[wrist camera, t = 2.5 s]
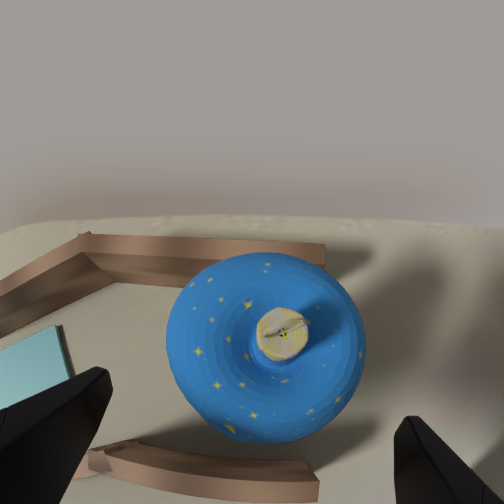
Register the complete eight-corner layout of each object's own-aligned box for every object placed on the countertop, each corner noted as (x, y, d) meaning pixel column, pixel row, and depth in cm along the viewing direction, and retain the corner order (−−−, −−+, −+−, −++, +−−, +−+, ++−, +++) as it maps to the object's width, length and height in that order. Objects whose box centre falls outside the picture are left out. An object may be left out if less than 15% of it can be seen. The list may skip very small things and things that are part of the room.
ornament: (209, 350, 19) (95, 234, 5) (286, 325, 20) (343, 159, 6) (235, 427, 17) (168, 518, 3) (315, 399, 17) (463, 398, 4)
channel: (396, 332, 19) (431, 312, 15) (179, 594, 10) (162, 628, 6) (130, 166, 26) (112, 126, 21) (-32, 374, 17) (-70, 362, 13)
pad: (57, 326, 19) (54, 324, 19) (91, 434, 16) (88, 434, 16) (-8, 357, 18) (-11, 356, 18) (17, 452, 15) (14, 453, 14)
